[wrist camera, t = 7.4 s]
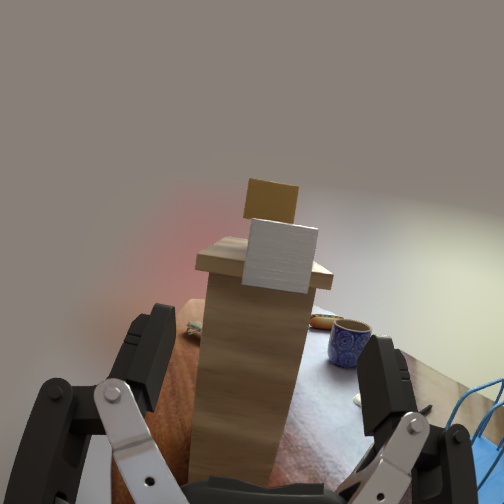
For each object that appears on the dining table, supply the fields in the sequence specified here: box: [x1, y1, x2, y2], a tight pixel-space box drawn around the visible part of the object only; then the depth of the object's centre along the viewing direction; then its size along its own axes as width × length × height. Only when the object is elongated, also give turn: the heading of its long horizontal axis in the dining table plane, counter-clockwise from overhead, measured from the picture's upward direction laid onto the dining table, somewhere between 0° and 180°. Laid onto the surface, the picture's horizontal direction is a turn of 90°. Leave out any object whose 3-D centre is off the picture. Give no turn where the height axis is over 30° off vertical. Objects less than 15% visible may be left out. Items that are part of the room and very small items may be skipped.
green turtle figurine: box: [185, 321, 203, 335], centre depth 84 cm, size 9×11×5 cm
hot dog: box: [309, 314, 344, 330], centre depth 110 cm, size 5×13×5 cm, turn 95°
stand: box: [188, 236, 333, 488], centre depth 36 cm, size 25×10×31 cm, turn 0°
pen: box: [419, 405, 432, 415], centre depth 52 cm, size 1×16×1 cm, turn 122°
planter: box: [328, 319, 372, 367], centre depth 80 cm, size 11×11×11 cm
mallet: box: [242, 178, 318, 294], centre depth 25 cm, size 22×5×7 cm, turn 0°
